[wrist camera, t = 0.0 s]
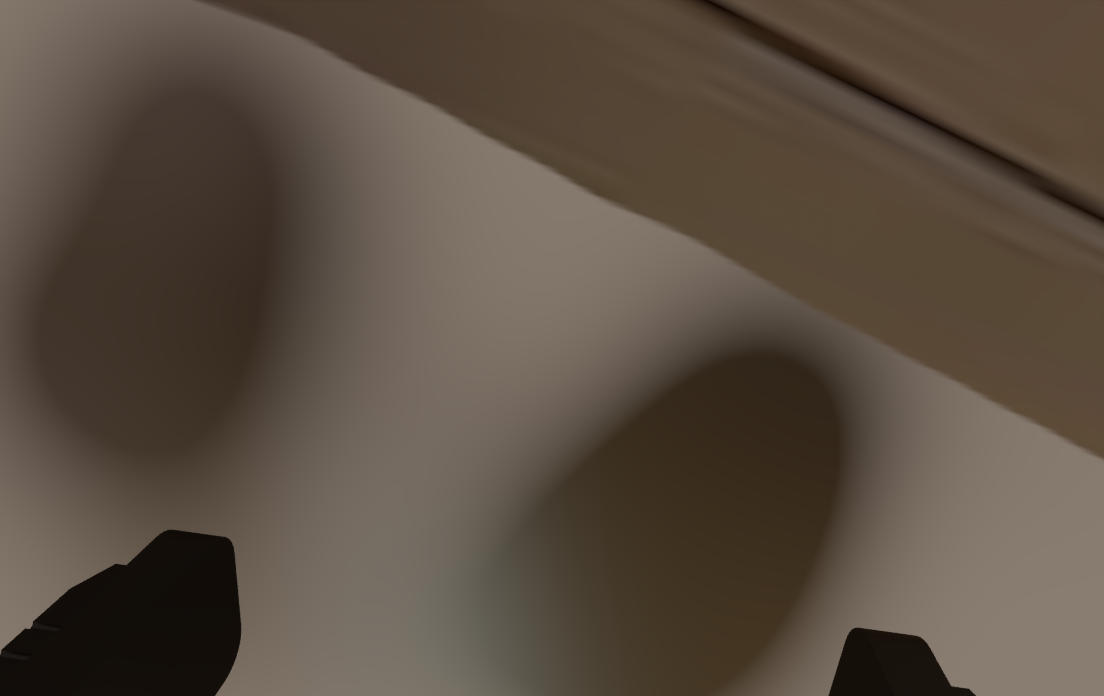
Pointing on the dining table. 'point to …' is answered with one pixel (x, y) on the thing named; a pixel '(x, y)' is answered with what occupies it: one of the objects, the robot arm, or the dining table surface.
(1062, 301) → the dining table surface
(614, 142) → the dining table surface
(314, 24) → the dining table surface
